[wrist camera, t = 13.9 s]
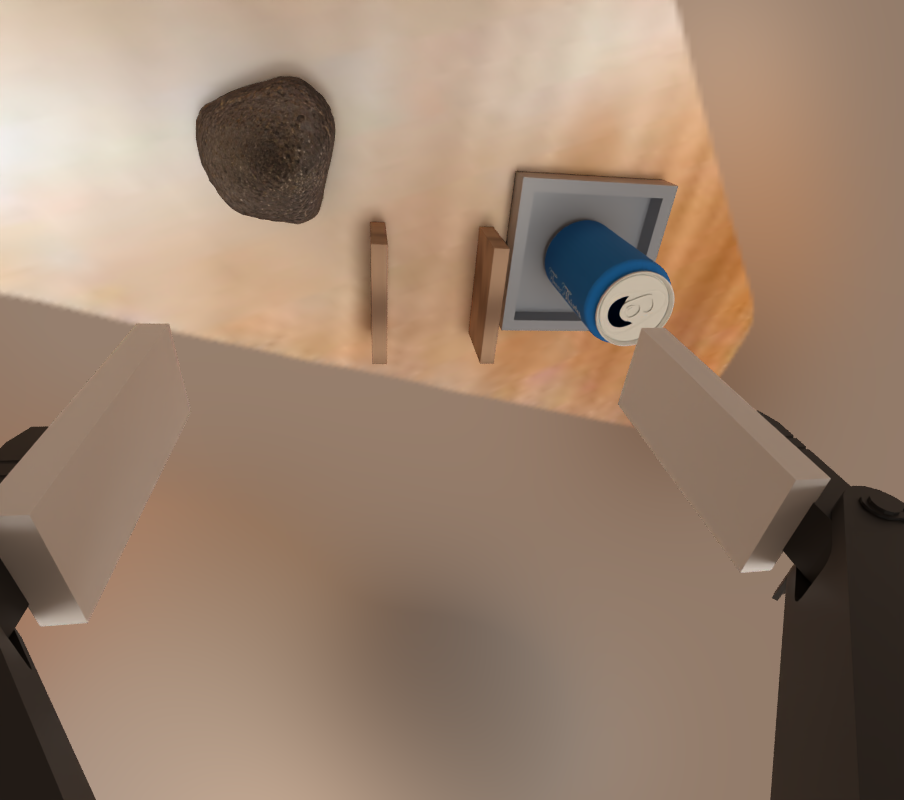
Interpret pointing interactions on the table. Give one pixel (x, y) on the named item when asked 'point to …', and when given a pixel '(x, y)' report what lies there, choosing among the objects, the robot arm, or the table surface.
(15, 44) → the table surface
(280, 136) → the stone
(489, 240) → the cradle
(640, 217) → the tray
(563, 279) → the beverage can
